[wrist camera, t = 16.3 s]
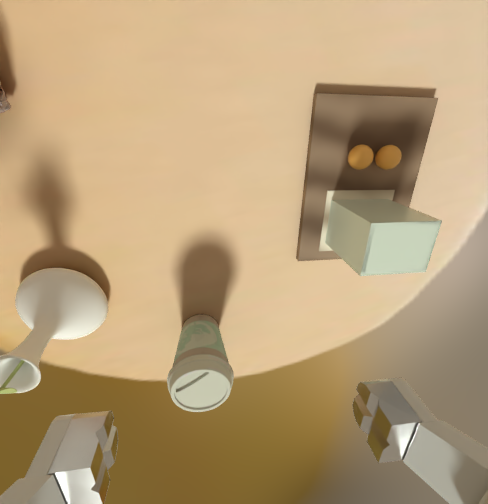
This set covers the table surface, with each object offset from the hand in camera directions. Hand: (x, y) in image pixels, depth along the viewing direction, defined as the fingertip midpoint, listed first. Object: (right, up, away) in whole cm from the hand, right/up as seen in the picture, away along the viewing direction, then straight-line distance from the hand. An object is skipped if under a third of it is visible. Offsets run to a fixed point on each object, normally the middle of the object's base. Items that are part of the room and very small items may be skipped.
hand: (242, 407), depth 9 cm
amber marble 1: (+15, +18, +28) cm, 36 cm away
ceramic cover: (+16, +10, +32) cm, 37 cm away
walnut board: (+16, +15, +31) cm, 38 cm away
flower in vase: (-26, -2, +31) cm, 41 cm away
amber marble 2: (+18, +18, +28) cm, 38 cm away
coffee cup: (-7, -7, +37) cm, 38 cm away
